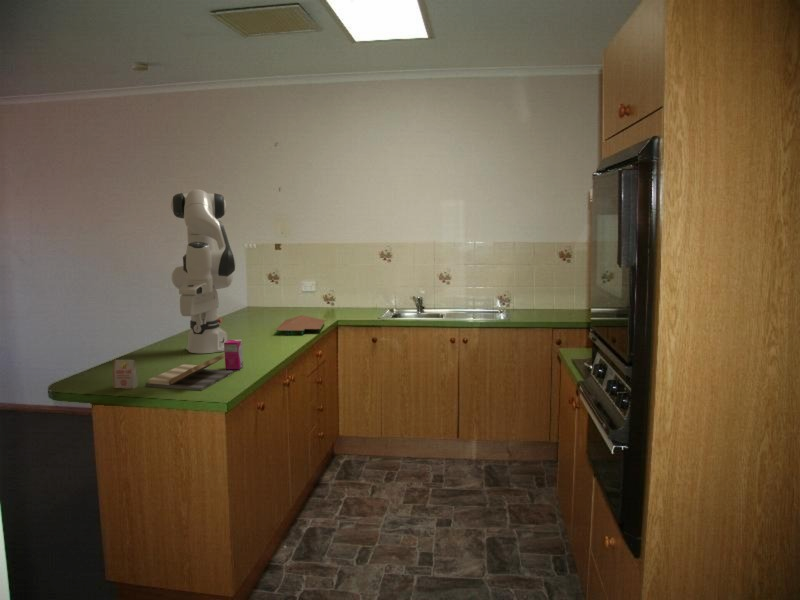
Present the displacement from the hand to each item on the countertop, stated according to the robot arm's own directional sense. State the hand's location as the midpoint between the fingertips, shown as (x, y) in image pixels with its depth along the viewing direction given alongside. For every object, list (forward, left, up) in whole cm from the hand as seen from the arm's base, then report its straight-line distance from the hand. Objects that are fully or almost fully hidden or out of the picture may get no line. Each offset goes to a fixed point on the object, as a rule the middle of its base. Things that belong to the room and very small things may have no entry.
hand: (201, 324), depth 206 cm
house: (-101, -1, -22) cm, 104 cm away
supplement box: (-18, +3, -21) cm, 28 cm away
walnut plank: (0, -2, -17) cm, 17 cm away
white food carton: (+14, -22, -21) cm, 34 cm away
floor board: (0, -5, -21) cm, 22 cm away
